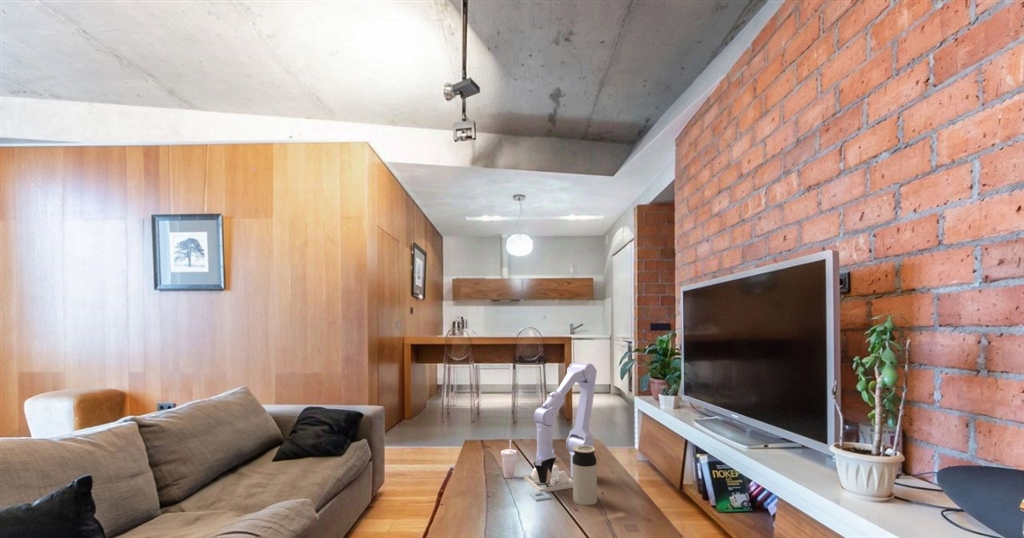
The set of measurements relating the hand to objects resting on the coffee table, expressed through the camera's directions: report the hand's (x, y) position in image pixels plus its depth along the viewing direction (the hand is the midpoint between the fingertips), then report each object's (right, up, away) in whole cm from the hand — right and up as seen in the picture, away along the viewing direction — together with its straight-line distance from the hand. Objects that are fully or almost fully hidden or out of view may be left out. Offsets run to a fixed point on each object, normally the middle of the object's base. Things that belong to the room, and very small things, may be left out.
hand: (545, 480), depth 165 cm
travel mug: (+13, -2, -12) cm, 18 cm away
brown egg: (0, -1, 0) cm, 1 cm away
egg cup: (-2, -3, -9) cm, 10 cm away
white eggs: (+2, -4, +4) cm, 6 cm away
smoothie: (-13, -5, +13) cm, 19 cm away
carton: (+2, -4, +4) cm, 6 cm away
